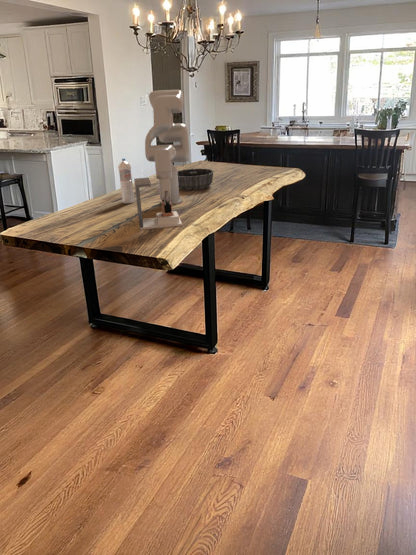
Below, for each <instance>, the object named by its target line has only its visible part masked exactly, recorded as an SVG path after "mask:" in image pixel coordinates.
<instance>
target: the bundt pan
mask: <svg viewBox="0 0 416 555" xmlns="http://www.w3.org/2000/svg"><path fill="white" fill-rule="evenodd" d="M177 171H178V184H179V190H184V191H193V190H194V191H197V190H205V189H207V188H209V187H210V186H211V185H212V183H213V178H214V172H215V170H213V169H211V168H189V169H182V170H177Z"/></svg>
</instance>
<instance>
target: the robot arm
mask: <svg viewBox="0 0 416 555" xmlns="http://www.w3.org/2000/svg"><path fill="white" fill-rule="evenodd" d="M148 99H149V103H150V106H151V108H152V112H153V113H152V115H153V126H152V127H150V129H149V131H148V132H147V134H146V136H145V138H144V153H145V154H144V155H145V158H146V161H148V162H151V163H152V162H154V167H155V176H156V177H155V178H156V179H157V180H158V190H159V191H158V192H159V193H158V194H159V199H160V200H159V201H160V204H161V205H162V203H161V202H164V204H165V205H164V211H165V213H171V204H170V201H171V203H172V205H179V204H181V203H183V199H182V198H181V197H180V188H179V184H178V171H179V170H178V169H177V167H176V166H175V165H174V163H186V162H189V160H190V143H189V141H190V140H189V132H188V127H187V125H186V124H184V123H179V122H177V123H174V120H173V119H174V115H173V114H180V113H182V112H183V109H184V101H185V100H184V94H183V91H182V90H181V89H163V90H162V89H161V90H160V89H159V90H153V91H151V92H150V93H149V94H148ZM157 137H158V140H159V142H160V143H178V144H153V145H152V142H153V141H154V140H155V139H156V138H157Z"/></svg>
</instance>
